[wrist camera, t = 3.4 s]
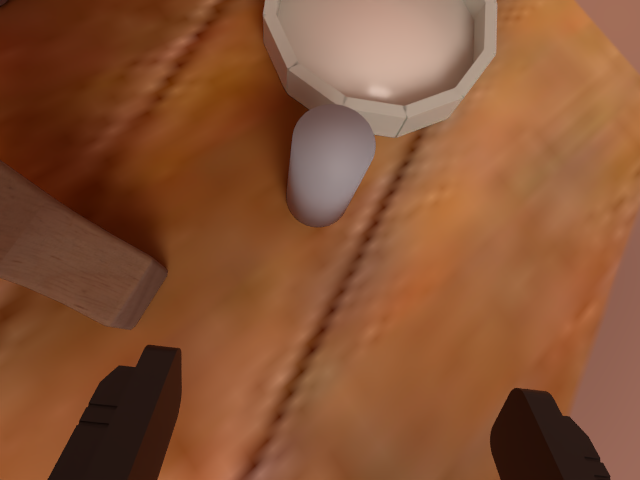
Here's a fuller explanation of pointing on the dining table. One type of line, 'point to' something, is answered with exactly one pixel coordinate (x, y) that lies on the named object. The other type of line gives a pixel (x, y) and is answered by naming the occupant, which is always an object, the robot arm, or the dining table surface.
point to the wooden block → (72, 256)
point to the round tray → (381, 55)
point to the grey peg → (327, 163)
